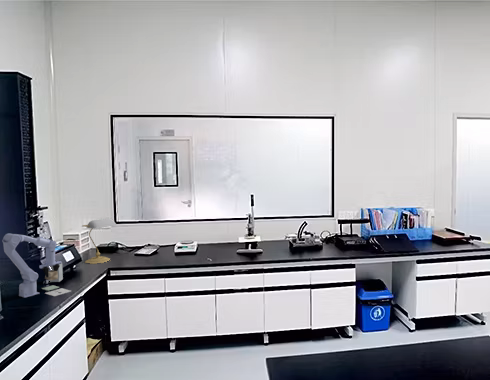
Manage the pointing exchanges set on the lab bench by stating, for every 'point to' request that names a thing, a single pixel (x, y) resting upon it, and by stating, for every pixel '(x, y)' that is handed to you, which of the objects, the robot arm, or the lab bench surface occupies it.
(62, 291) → the card
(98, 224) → the desk lamp
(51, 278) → the beech block
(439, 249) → the lab bench surface
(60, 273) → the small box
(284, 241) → the lab bench surface
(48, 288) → the sage pad
